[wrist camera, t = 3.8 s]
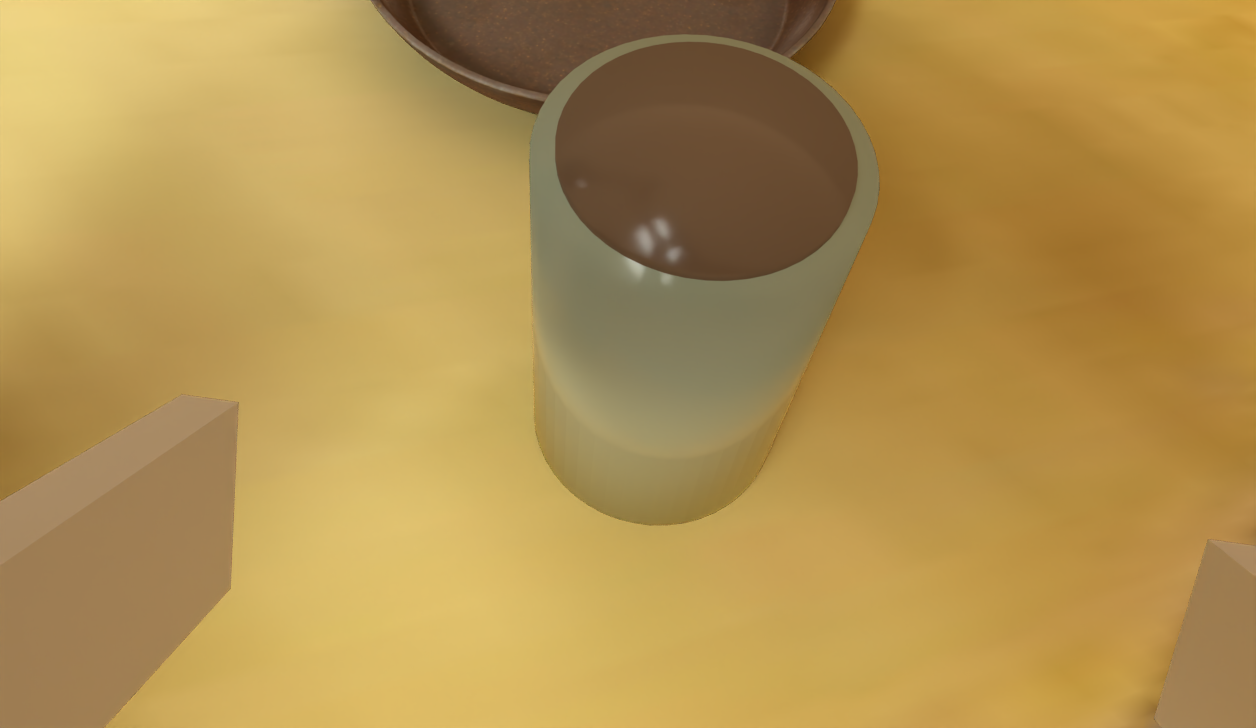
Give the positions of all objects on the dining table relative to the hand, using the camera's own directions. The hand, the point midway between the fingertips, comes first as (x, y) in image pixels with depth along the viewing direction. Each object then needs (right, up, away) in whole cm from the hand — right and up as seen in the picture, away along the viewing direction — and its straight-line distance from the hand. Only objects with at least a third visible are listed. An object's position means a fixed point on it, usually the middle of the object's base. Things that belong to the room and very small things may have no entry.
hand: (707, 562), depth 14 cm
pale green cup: (0, +1, +16) cm, 16 cm away
